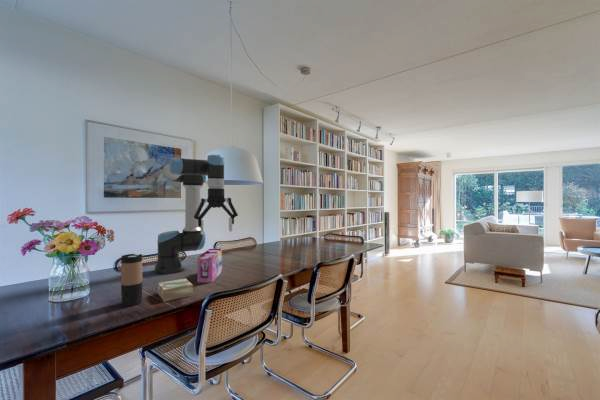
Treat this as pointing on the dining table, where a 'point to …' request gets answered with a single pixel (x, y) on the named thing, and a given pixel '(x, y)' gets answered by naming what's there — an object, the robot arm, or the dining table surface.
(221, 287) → the dining table surface
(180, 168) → the robot arm
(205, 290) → the dining table surface
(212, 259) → the gum box
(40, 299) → the dining table surface
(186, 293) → the pedestal
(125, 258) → the travel mug
